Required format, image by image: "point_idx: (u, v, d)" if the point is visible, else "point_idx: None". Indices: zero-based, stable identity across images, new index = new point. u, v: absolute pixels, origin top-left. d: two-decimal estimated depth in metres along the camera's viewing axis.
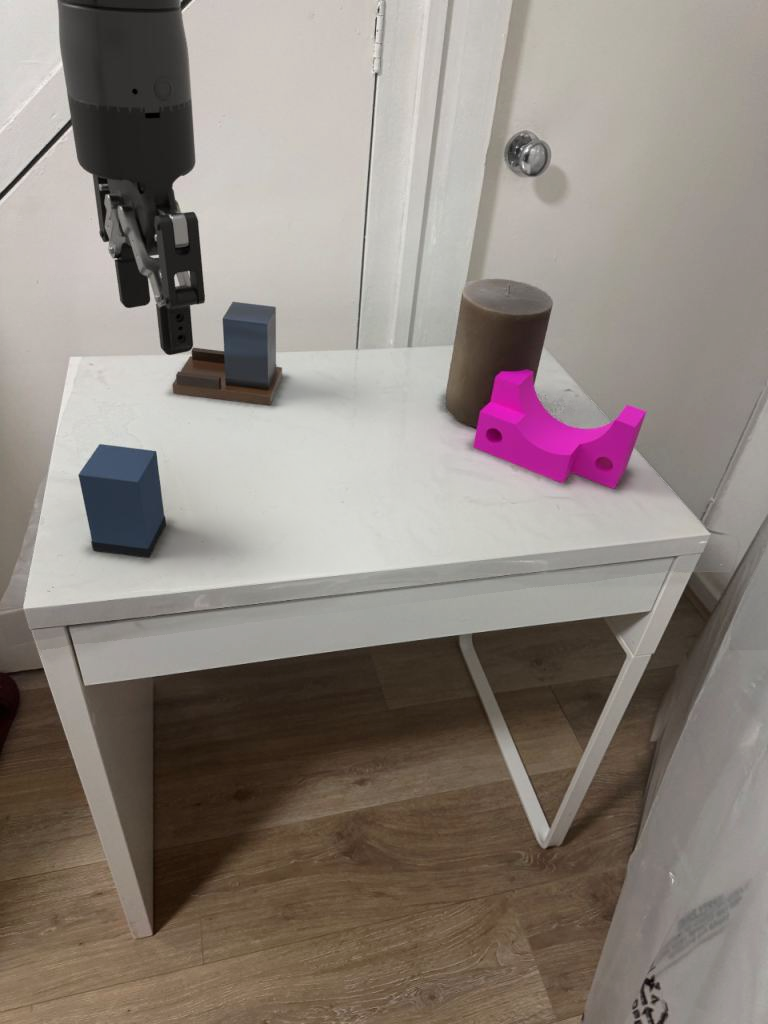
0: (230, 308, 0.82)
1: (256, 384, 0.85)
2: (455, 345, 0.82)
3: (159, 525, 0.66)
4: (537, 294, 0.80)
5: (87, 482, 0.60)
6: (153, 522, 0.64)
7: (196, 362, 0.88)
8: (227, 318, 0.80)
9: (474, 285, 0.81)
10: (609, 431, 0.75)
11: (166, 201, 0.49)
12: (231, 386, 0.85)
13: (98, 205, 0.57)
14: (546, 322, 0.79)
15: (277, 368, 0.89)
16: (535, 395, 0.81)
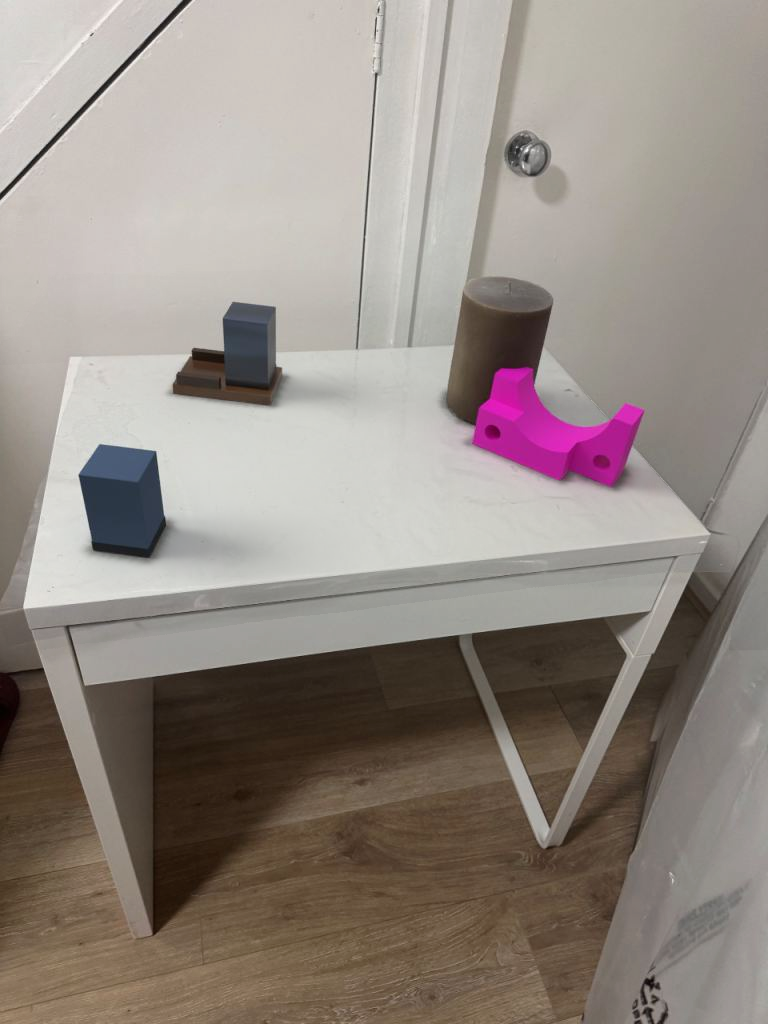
0: (230, 308, 0.82)
1: (256, 384, 0.85)
2: (456, 342, 0.83)
3: (159, 525, 0.66)
4: (538, 292, 0.81)
5: (87, 482, 0.60)
6: (153, 522, 0.64)
7: (196, 362, 0.88)
8: (227, 318, 0.80)
9: (475, 282, 0.81)
10: (606, 429, 0.75)
11: None
12: (231, 386, 0.85)
13: None
14: (546, 320, 0.79)
15: (277, 368, 0.89)
16: (535, 393, 0.82)
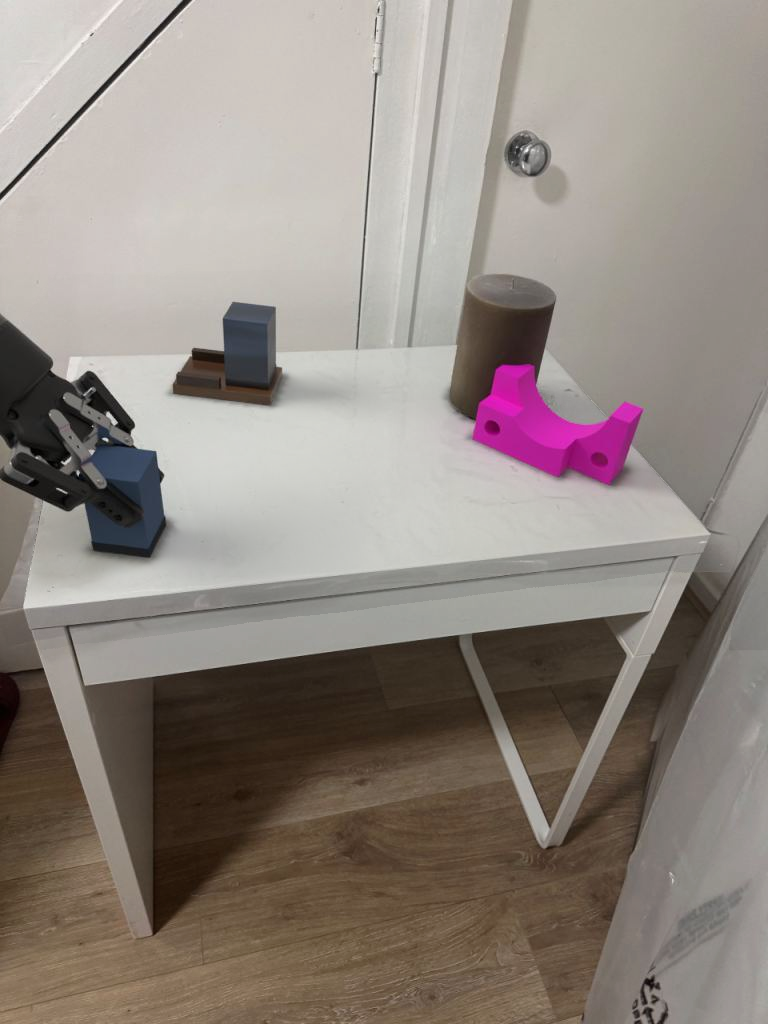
0: (230, 308, 0.82)
1: (256, 384, 0.85)
2: (459, 338, 0.84)
3: (159, 525, 0.66)
4: (541, 289, 0.81)
5: None
6: (153, 522, 0.64)
7: (196, 362, 0.88)
8: (227, 318, 0.80)
9: (480, 279, 0.82)
10: (604, 426, 0.76)
11: None
12: (231, 386, 0.85)
13: (58, 477, 0.56)
14: (548, 317, 0.80)
15: (277, 368, 0.89)
16: (536, 390, 0.82)
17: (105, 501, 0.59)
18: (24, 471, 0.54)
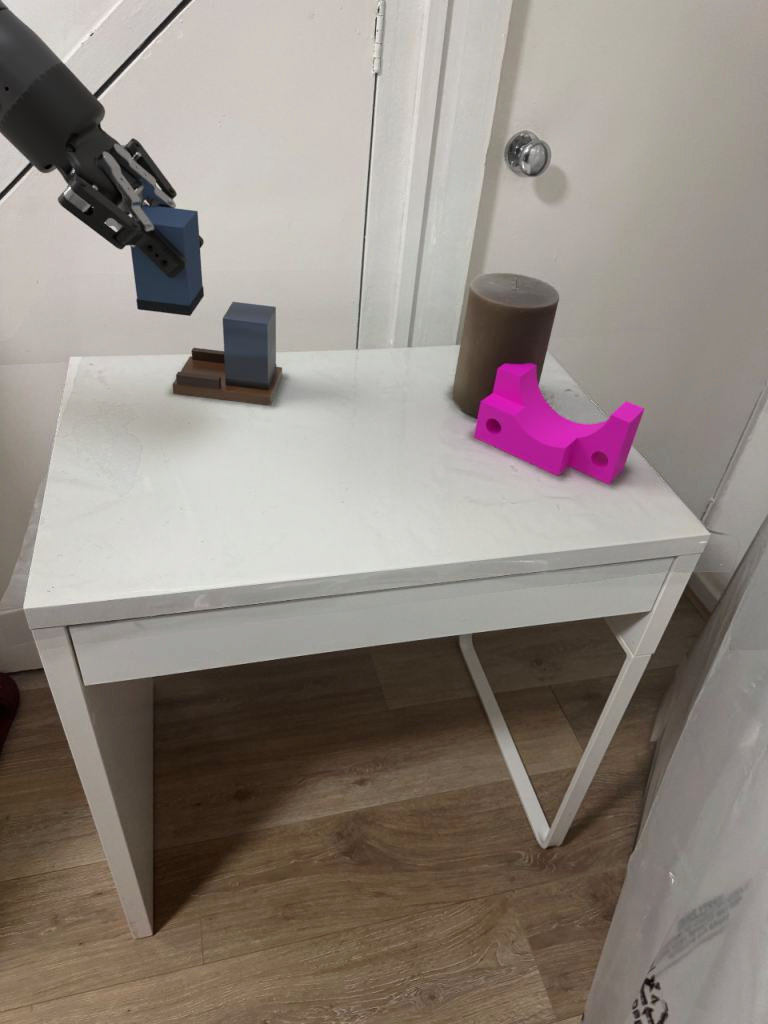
0: (230, 308, 0.82)
1: (256, 384, 0.85)
2: (462, 336, 0.84)
3: (198, 291, 0.71)
4: (544, 289, 0.82)
5: None
6: (194, 283, 0.69)
7: (196, 362, 0.88)
8: (227, 318, 0.80)
9: (483, 278, 0.83)
10: (605, 426, 0.76)
11: None
12: (231, 386, 0.85)
13: (111, 207, 0.60)
14: (551, 316, 0.80)
15: (277, 368, 0.89)
16: (538, 389, 0.82)
17: (152, 244, 0.64)
18: (82, 194, 0.59)
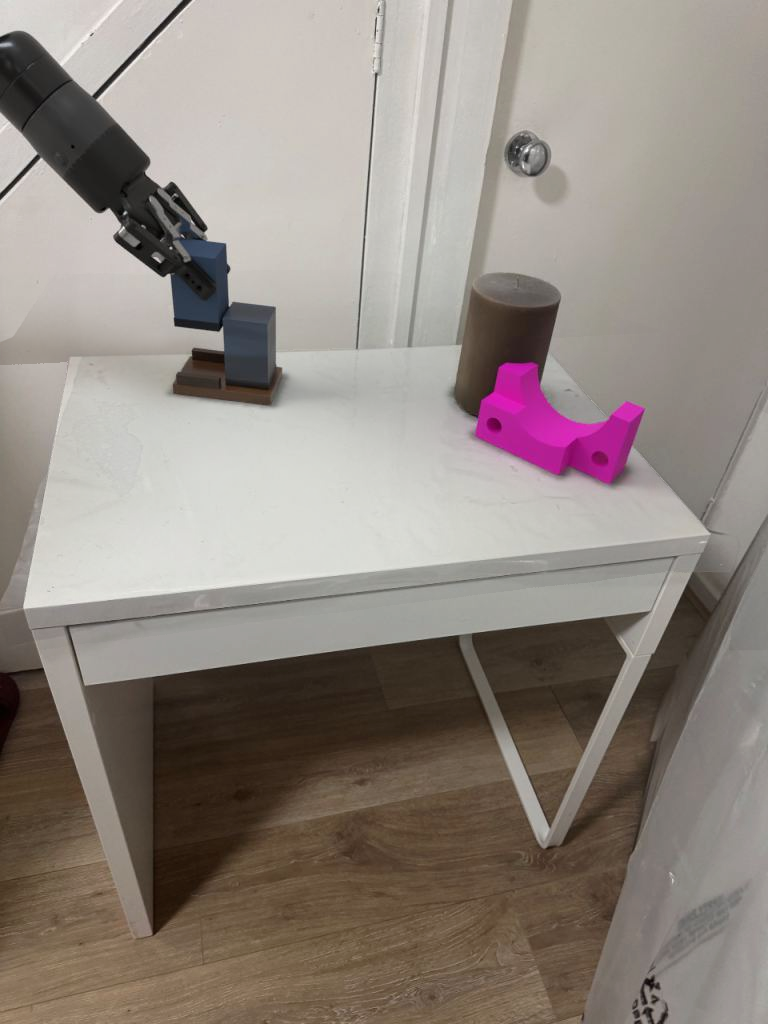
0: (230, 308, 0.82)
1: (256, 384, 0.85)
2: (464, 335, 0.84)
3: (226, 311, 0.83)
4: (546, 288, 0.82)
5: None
6: (222, 303, 0.81)
7: (196, 362, 0.88)
8: (227, 318, 0.80)
9: (485, 277, 0.83)
10: (605, 425, 0.76)
11: None
12: (231, 386, 0.85)
13: (157, 243, 0.72)
14: (552, 316, 0.80)
15: (277, 368, 0.89)
16: (539, 388, 0.83)
17: (189, 272, 0.76)
18: (134, 233, 0.71)
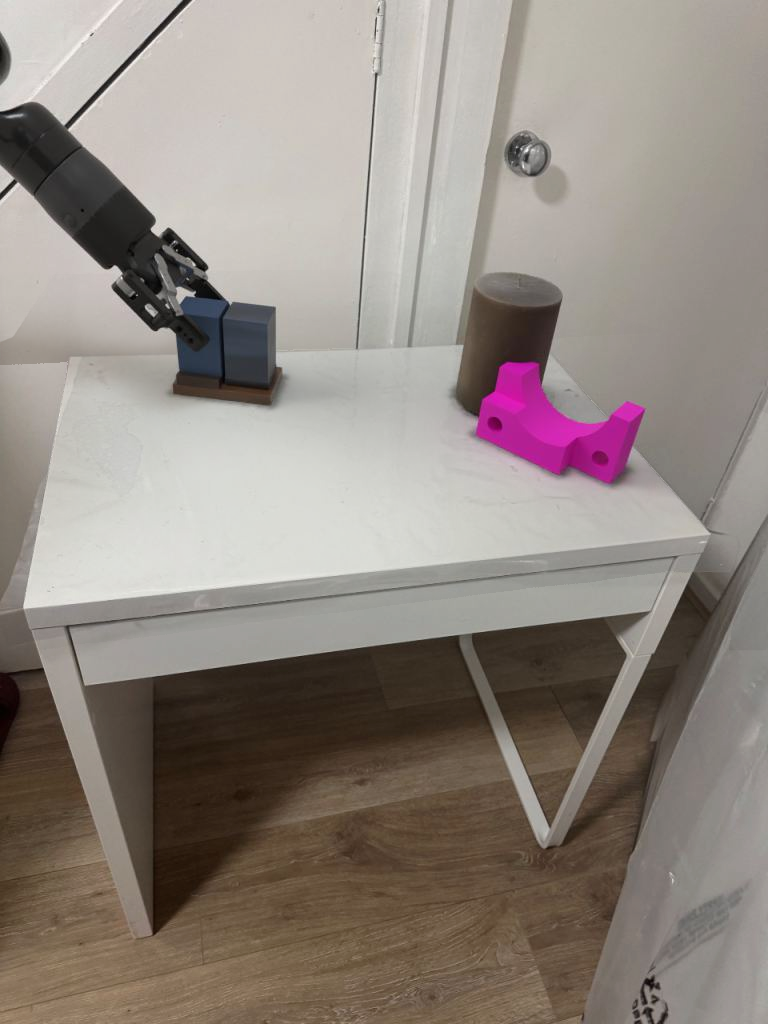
0: (230, 308, 0.82)
1: (256, 384, 0.85)
2: (466, 335, 0.85)
3: None
4: (548, 288, 0.82)
5: None
6: None
7: None
8: (227, 318, 0.80)
9: (487, 277, 0.83)
10: (605, 425, 0.76)
11: None
12: (231, 386, 0.85)
13: (151, 296, 0.75)
14: (554, 316, 0.80)
15: (277, 368, 0.89)
16: (540, 388, 0.83)
17: (181, 326, 0.78)
18: (129, 282, 0.73)
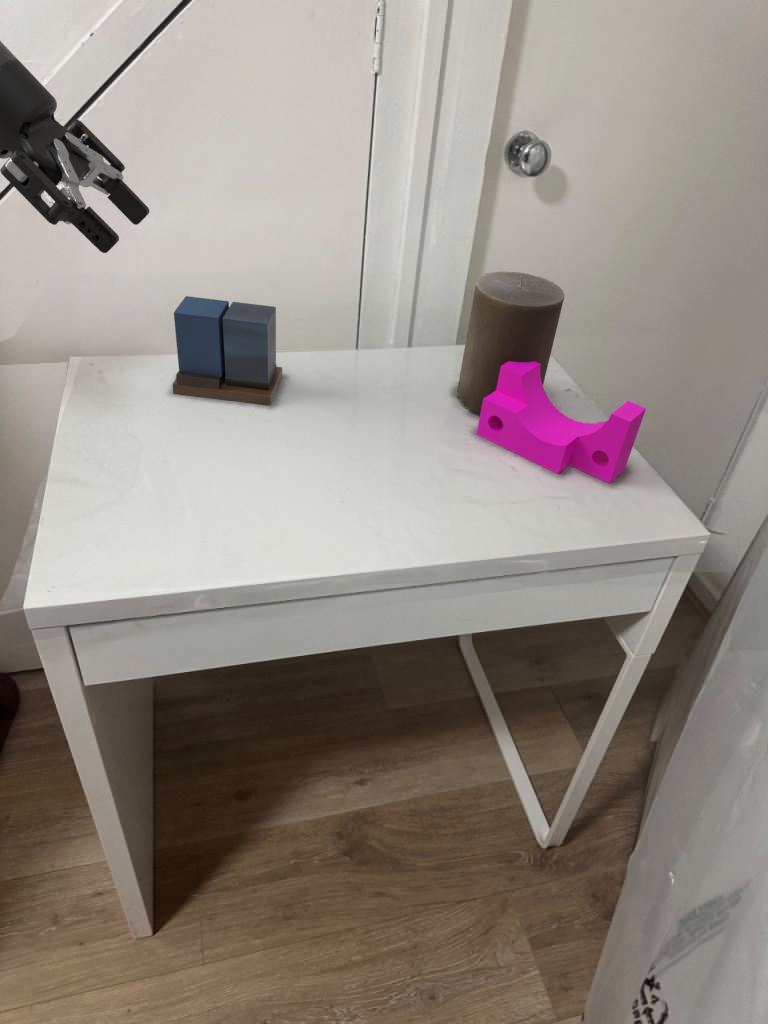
0: (230, 308, 0.82)
1: (256, 384, 0.85)
2: (467, 334, 0.85)
3: None
4: (550, 288, 0.82)
5: (180, 319, 0.81)
6: None
7: None
8: (227, 318, 0.80)
9: (489, 276, 0.83)
10: (605, 425, 0.76)
11: None
12: (231, 386, 0.85)
13: (46, 181, 0.66)
14: (555, 315, 0.80)
15: (277, 368, 0.89)
16: (541, 387, 0.83)
17: (84, 220, 0.69)
18: (19, 164, 0.65)
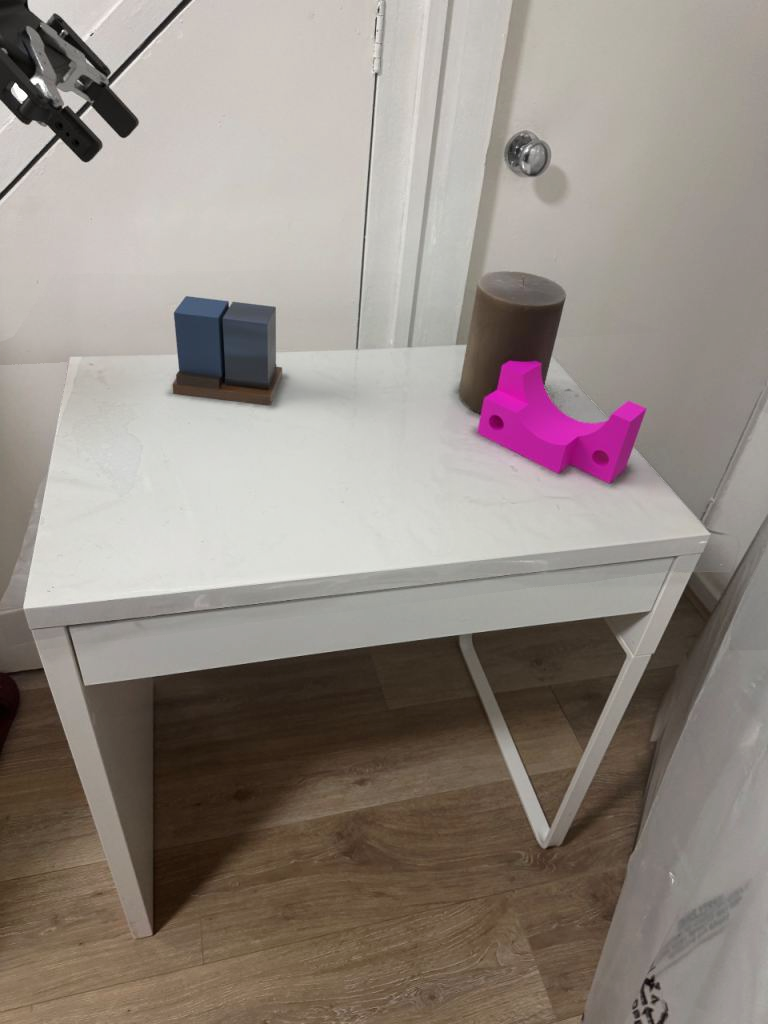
0: (230, 308, 0.82)
1: (256, 384, 0.85)
2: (469, 333, 0.85)
3: None
4: (552, 287, 0.82)
5: (180, 319, 0.81)
6: None
7: None
8: (227, 318, 0.80)
9: (491, 276, 0.83)
10: (606, 424, 0.76)
11: None
12: (231, 386, 0.85)
13: (16, 70, 0.57)
14: (557, 315, 0.80)
15: (277, 368, 0.89)
16: (542, 387, 0.83)
17: (62, 121, 0.60)
18: None
